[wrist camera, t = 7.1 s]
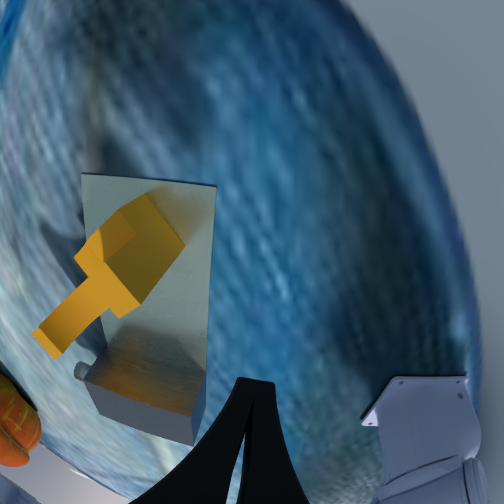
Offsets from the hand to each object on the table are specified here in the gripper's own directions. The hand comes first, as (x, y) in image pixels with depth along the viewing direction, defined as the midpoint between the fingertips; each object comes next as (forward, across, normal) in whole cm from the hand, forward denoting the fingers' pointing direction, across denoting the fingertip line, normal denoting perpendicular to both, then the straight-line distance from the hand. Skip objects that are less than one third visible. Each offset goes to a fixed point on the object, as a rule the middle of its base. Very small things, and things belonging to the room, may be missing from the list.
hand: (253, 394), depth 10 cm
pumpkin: (+10, +49, +42) cm, 65 cm away
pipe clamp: (+9, +12, +2) cm, 15 cm away
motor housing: (+9, +11, +6) cm, 15 cm away
